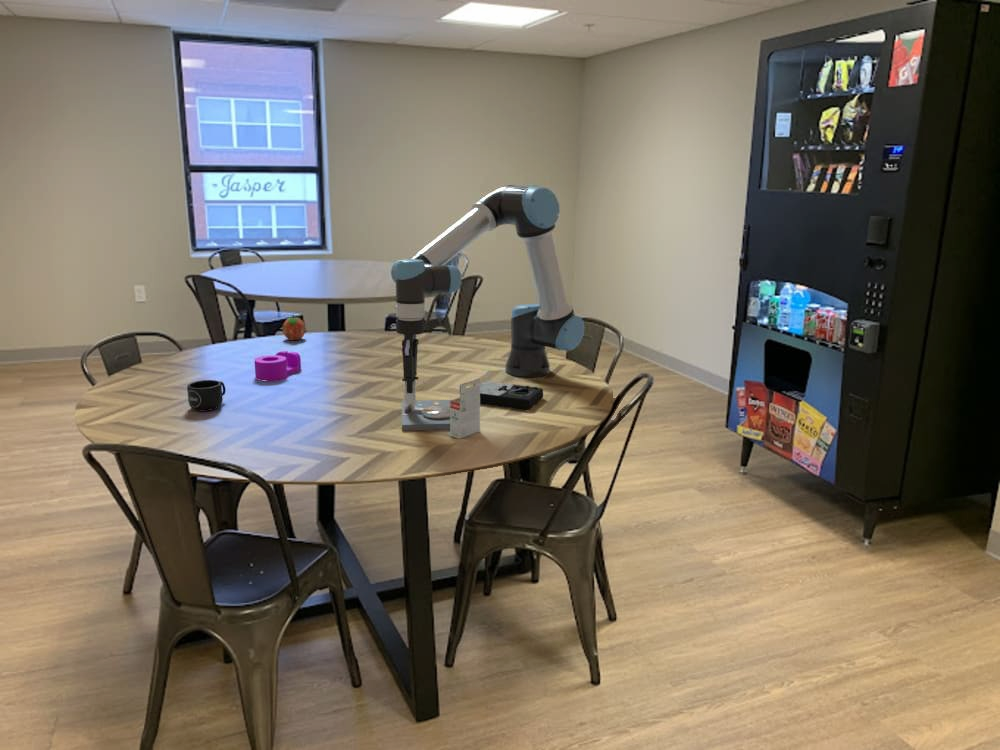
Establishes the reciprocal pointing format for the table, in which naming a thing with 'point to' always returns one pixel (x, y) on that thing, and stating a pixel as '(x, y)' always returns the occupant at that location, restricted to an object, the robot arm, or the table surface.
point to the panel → (421, 423)
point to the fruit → (294, 328)
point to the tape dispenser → (277, 365)
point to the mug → (205, 394)
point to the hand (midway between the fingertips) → (410, 403)
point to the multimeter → (509, 395)
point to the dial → (429, 411)
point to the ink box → (465, 411)
